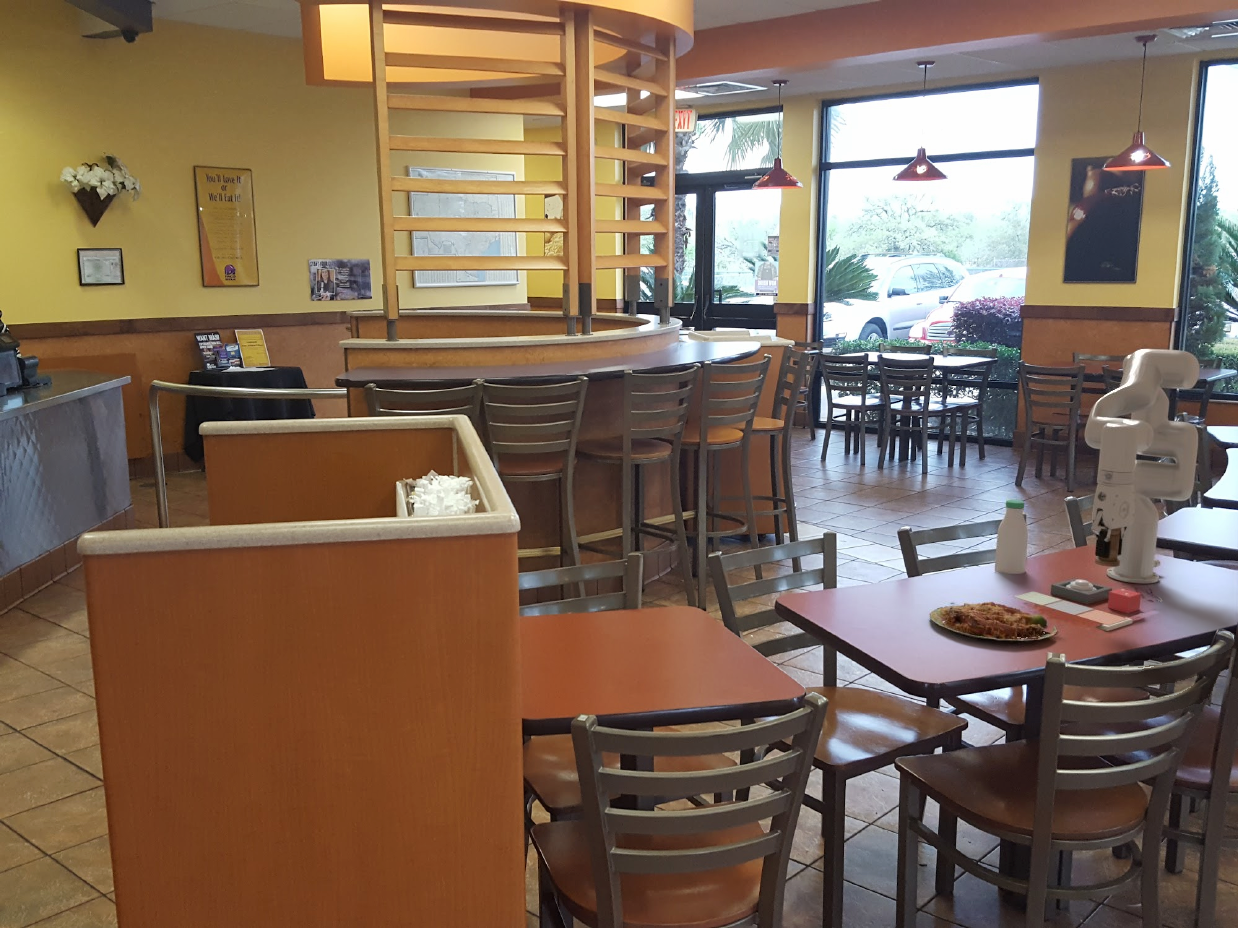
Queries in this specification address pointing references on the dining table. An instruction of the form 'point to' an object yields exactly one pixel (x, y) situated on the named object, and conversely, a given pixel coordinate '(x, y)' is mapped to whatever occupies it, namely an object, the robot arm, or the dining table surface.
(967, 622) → the rice dish
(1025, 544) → the milk bottle
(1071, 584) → the dome
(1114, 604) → the die
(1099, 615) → the board
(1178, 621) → the dining table surface
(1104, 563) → the wooden pepper mill
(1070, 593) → the dome housing
